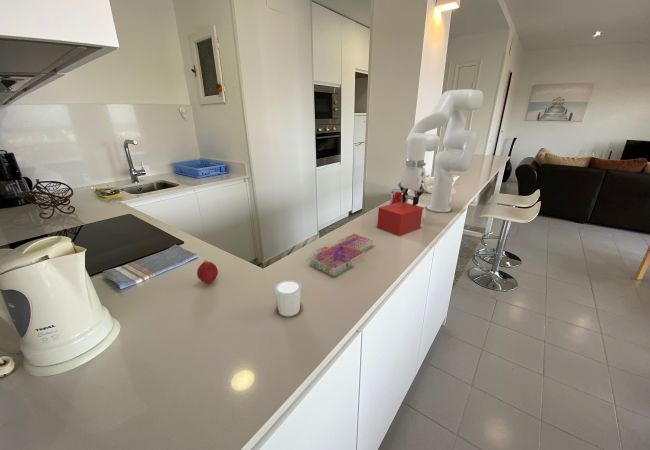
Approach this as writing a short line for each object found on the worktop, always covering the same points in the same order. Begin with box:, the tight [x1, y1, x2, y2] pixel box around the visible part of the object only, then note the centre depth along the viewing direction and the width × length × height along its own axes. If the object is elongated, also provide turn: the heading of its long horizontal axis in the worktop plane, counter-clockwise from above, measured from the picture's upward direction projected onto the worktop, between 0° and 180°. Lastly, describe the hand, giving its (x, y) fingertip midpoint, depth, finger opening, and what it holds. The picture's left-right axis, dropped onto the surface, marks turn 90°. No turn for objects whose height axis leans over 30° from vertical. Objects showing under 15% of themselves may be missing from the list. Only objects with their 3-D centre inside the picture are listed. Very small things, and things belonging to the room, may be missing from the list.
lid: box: [378, 194, 425, 216], centre depth 125 cm, size 16×13×5 cm
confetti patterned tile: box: [305, 232, 374, 277], centre depth 102 cm, size 30×15×5 cm, turn 137°
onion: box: [196, 259, 219, 284], centre depth 84 cm, size 6×6×8 cm
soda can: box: [389, 188, 403, 205], centre depth 144 cm, size 7×7×13 cm
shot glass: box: [274, 279, 302, 317], centre depth 72 cm, size 7×7×7 cm
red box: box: [376, 208, 424, 236], centre depth 127 cm, size 16×13×9 cm
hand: (409, 203), depth 129 cm, fingers closed on lid, 5 cm apart
